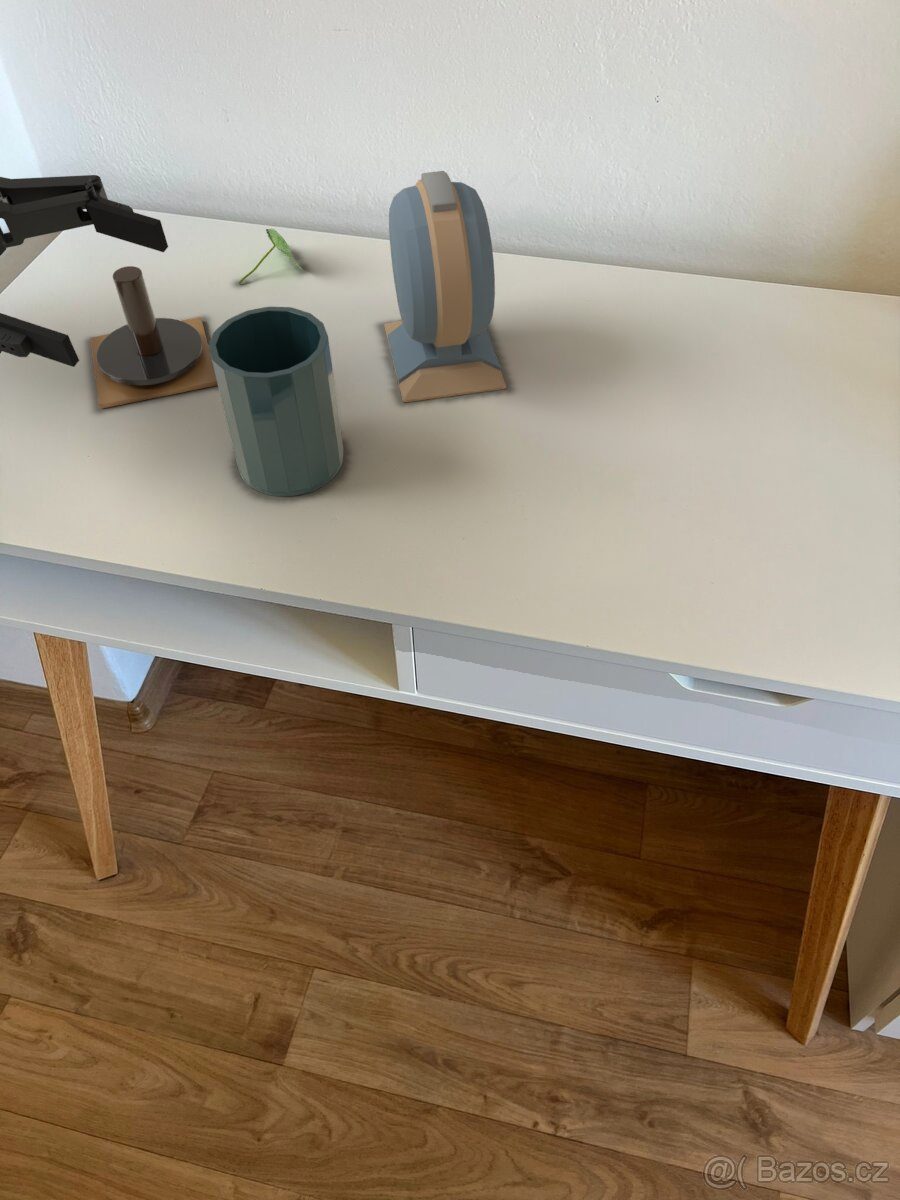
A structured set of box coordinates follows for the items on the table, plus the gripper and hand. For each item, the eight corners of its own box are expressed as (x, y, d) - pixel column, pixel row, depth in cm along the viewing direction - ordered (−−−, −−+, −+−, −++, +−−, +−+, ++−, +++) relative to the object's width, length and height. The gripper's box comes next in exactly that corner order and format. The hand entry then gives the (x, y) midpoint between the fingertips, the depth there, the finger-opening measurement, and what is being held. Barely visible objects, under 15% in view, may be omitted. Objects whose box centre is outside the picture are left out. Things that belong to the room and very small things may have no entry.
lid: (154, 404, 93) (127, 318, 86) (77, 369, 96) (46, 284, 89) (225, 348, 98) (206, 263, 91) (150, 317, 102) (126, 233, 95)
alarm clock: (508, 395, 93) (514, 217, 80) (404, 409, 92) (392, 231, 79) (477, 308, 102) (478, 135, 89) (382, 320, 101) (368, 147, 88)
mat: (100, 409, 93) (98, 404, 93) (91, 341, 100) (90, 337, 100) (218, 385, 95) (217, 381, 95) (201, 320, 102) (200, 316, 102)
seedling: (269, 311, 111) (308, 266, 111) (263, 307, 103) (305, 259, 103) (218, 264, 110) (258, 218, 109) (208, 256, 102) (252, 207, 101)
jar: (247, 506, 85) (218, 387, 75) (230, 438, 90) (201, 318, 81) (354, 483, 86) (338, 363, 77) (330, 417, 92) (313, 297, 82)
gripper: (1, 169, 92) (205, 229, 88) (-179, 358, 81) (46, 437, 77) (-33, 92, 86) (186, 154, 82) (-234, 287, 74) (9, 369, 70)
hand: (118, 291), depth 79 cm, fingers open, 13 cm apart
